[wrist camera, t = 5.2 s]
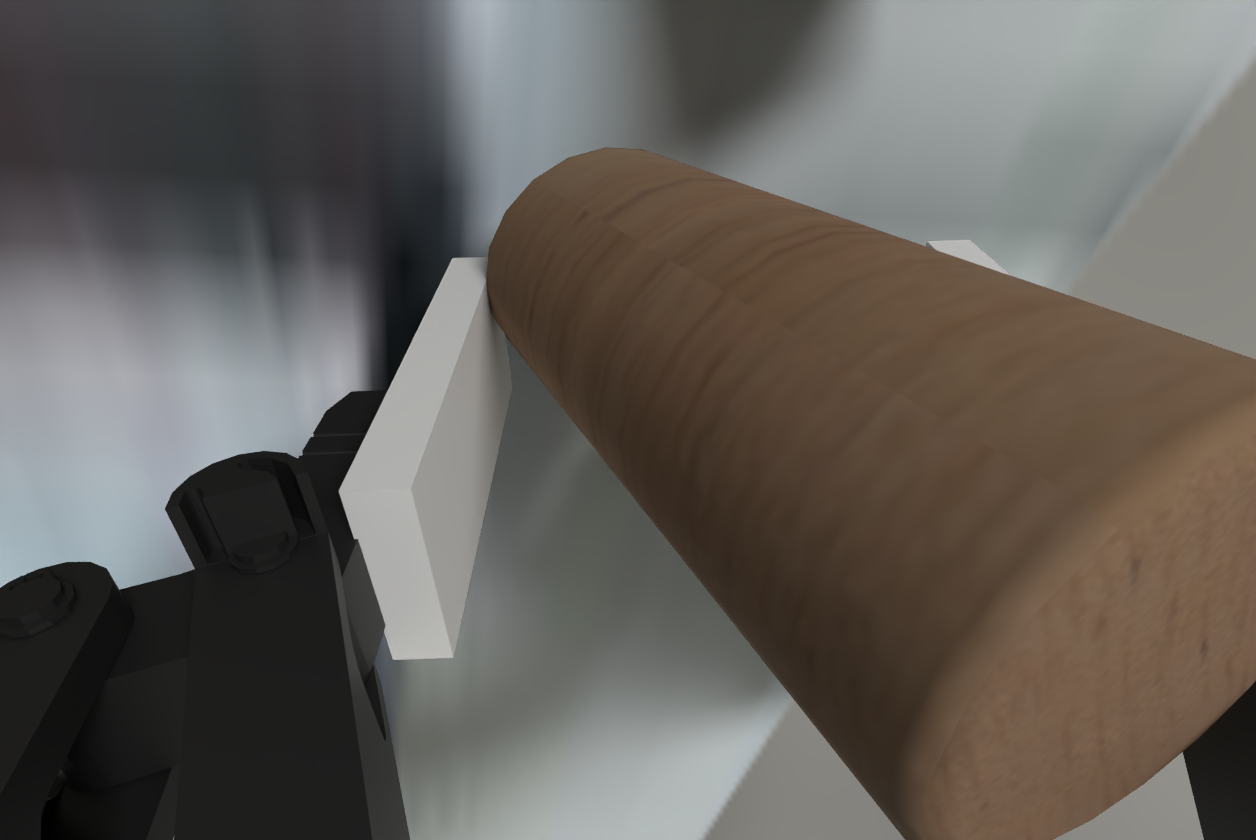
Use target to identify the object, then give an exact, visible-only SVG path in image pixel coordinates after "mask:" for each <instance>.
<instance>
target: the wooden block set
mask: <svg viewBox="0 0 1256 840" xmlns="http://www.w3.org/2000/svg"><path fill="white" fill-rule="evenodd" d="M486 287H487V292H488V297H489V302H490V306H491V310H492V314H493V318H494V319H495V321H496V322H497V324H498V325H499V326H500V328H501V329H502V331H503V332H504V334H505V335H506V336H507V338H508V339H509V341H510V342H511V343H512V345H513V346H514V347H515V348H516V350H517V351H518V352H519V354H520V355H521V356H522V357H523V359H524V360H525V361H526V362H527V364H528V365H529V366H530V367H531V369H532V370H533V371H534V372H535V374H536V375H537V376H538V377H539V379H540V380H541V381H542V382H543V384H544V385H545V386H546V388H547V389H548V390H549V391H550V393H551V394H552V395H553V396H554V398H555V399H556V400H557V401H558V403H559V404H560V405H561V406H562V408H563V409H564V410H565V411H566V413H567V414H568V415H569V417H570V418H571V419H572V420H573V422H574V423H575V424H576V425H577V427H578V428H579V429H580V430H581V432H582V433H583V434H584V435H585V437H586V438H587V439H588V440H589V442H590V443H591V444H592V446H593V447H594V448H595V449H596V451H597V452H598V453H599V454H600V456H601V457H602V458H603V459H604V461H605V462H606V463H607V464H608V466H609V467H610V468H611V469H612V471H613V472H614V473H615V475H616V476H617V477H618V478H619V480H620V481H621V482H622V483H623V485H624V486H625V487H626V488H627V490H628V491H629V492H630V493H631V495H632V496H633V497H634V498H635V500H636V501H637V502H638V503H639V505H640V506H641V507H642V509H643V510H644V511H645V512H646V514H647V515H648V516H649V517H650V519H651V520H652V521H653V522H654V524H655V525H656V526H657V527H658V529H659V530H660V531H661V532H662V534H663V535H664V536H665V538H666V539H667V540H668V541H669V543H670V544H671V545H672V546H673V548H674V549H675V550H676V551H677V553H678V554H679V555H680V556H681V558H682V559H683V560H684V561H685V563H686V564H687V565H688V567H689V568H690V569H691V570H692V572H693V573H694V574H695V575H696V577H697V578H698V579H699V580H700V582H701V583H702V584H703V585H704V587H705V588H706V589H707V590H708V592H709V593H710V594H711V595H712V597H713V598H714V599H715V601H716V602H717V603H718V604H719V606H720V607H721V608H722V609H723V611H724V612H725V613H726V614H727V616H728V617H729V618H730V619H731V621H732V622H733V623H734V624H735V626H736V627H737V628H738V630H739V631H740V632H741V633H742V635H743V636H744V637H745V638H746V640H747V641H748V642H749V643H750V645H751V646H752V647H753V648H754V650H755V651H756V652H757V653H758V655H759V656H760V657H761V659H762V660H763V661H764V662H765V664H766V665H767V666H768V667H769V669H770V670H771V671H772V672H773V674H774V675H775V676H776V677H777V679H778V680H779V681H780V682H781V684H782V685H783V686H784V688H785V689H786V690H787V691H788V693H789V694H790V695H791V696H792V698H793V699H794V700H795V701H796V703H797V704H798V705H799V706H800V708H801V709H802V710H803V711H804V713H805V714H806V715H807V716H808V718H809V719H810V720H811V722H812V723H813V724H814V725H815V726H816V728H817V729H818V730H819V732H820V733H821V734H822V735H823V737H824V738H825V739H826V740H827V742H828V743H829V744H830V745H831V747H832V748H833V749H834V751H836V753H837V754H838V756H839V757H840V758H841V759H842V761H843V762H844V763H845V764H846V766H847V767H848V768H849V769H850V771H851V772H852V773H853V774H854V776H855V777H856V778H857V780H858V781H859V782H860V783H861V785H862V786H863V787H864V788H865V790H866V791H867V792H868V793H869V794H870V796H871V797H872V798H873V800H874V801H875V802H876V803H877V805H878V806H879V807H880V808H881V810H882V811H883V812H884V813H885V815H886V816H887V817H888V819H889V820H890V821H891V822H892V824H893V825H894V826H895V827H896V829H897V830H898V831H899V832H900V834H901V835H902V836H903V837H904V839H905V840H1053V839H1055V838H1057V837H1059V836H1061V835H1063V834H1065V833H1067V832H1068V831H1071V830H1072V829H1074V828H1076V827H1078V826H1080V825H1082V824H1084V823H1086V822H1088V821H1090V820H1092V819H1093V818H1095V817H1096V816H1098V815H1099V814H1101V813H1102V812H1104V811H1105V810H1106V809H1108V808H1109V807H1111V806H1112V805H1114V804H1115V803H1116V802H1118V801H1120V800H1121V799H1123V798H1124V797H1125V796H1127V795H1128V794H1130V793H1131V792H1133V791H1134V790H1136V789H1137V788H1139V787H1140V786H1141V785H1143V784H1144V783H1145V782H1147V781H1148V780H1149V779H1150V778H1152V777H1153V776H1154V775H1155V774H1156V773H1157V772H1159V771H1160V770H1161V769H1162V768H1164V767H1165V766H1166V765H1167V764H1168V763H1169V762H1171V761H1172V760H1173V759H1174V758H1175V757H1177V756H1178V755H1179V754H1180V753H1181V752H1183V751H1184V750H1185V749H1186V748H1187V747H1189V746H1190V745H1191V744H1192V743H1193V742H1195V741H1196V740H1197V739H1198V738H1199V737H1200V736H1201V735H1202V734H1203V733H1204V732H1205V731H1206V730H1207V729H1208V728H1209V727H1210V726H1211V725H1212V724H1213V723H1214V722H1215V721H1217V720H1218V719H1219V718H1220V717H1221V716H1222V715H1223V714H1224V713H1225V712H1226V711H1227V710H1228V709H1229V708H1230V707H1231V706H1232V705H1233V704H1234V703H1235V702H1236V701H1237V700H1238V699H1239V698H1240V697H1241V696H1242V695H1243V694H1244V693H1245V692H1246V691H1247V690H1248V689H1249V688H1250V687H1251V686H1252V684H1253V683H1254V682H1255V681H1256V360H1255V359H1253V358H1250V357H1247V356H1243V355H1241V354H1238V353H1235V352H1232V351H1229V350H1226V349H1223V348H1220V347H1217V346H1214V345H1212V344H1209V343H1206V342H1203V341H1200V340H1197V339H1194V338H1191V337H1188V336H1185V335H1182V334H1179V333H1177V332H1173V331H1171V330H1168V329H1165V328H1162V327H1159V326H1156V325H1153V324H1150V323H1147V322H1144V321H1142V320H1139V319H1136V318H1133V317H1130V316H1127V315H1124V314H1121V313H1118V312H1115V311H1112V310H1109V309H1107V308H1104V307H1100V306H1098V305H1095V304H1092V303H1089V302H1086V301H1083V300H1080V299H1077V298H1074V297H1071V296H1069V295H1066V294H1063V293H1060V292H1057V291H1054V290H1051V289H1048V288H1045V287H1042V286H1039V285H1036V284H1034V283H1031V282H1028V281H1025V280H1022V279H1019V278H1016V277H1013V276H1010V275H1007V274H1004V273H1001V272H998V271H996V270H993V269H990V268H987V267H984V266H981V265H978V264H975V263H972V262H969V261H966V260H963V259H961V258H958V257H955V256H952V255H949V254H946V253H943V252H940V251H937V250H934V249H931V248H928V247H925V246H923V245H920V244H917V243H914V242H911V241H908V240H905V239H902V238H899V237H896V236H893V235H890V234H888V233H885V232H882V231H879V230H876V229H873V228H870V227H867V226H864V225H861V224H858V223H855V222H852V221H850V220H847V219H844V218H841V217H838V216H835V215H832V214H829V213H826V212H823V211H820V210H817V209H815V208H812V207H809V206H806V205H803V204H800V203H797V202H794V201H791V200H788V199H785V198H782V197H779V196H777V195H774V194H771V193H768V192H765V191H762V190H759V189H756V188H753V187H750V186H747V185H744V184H742V183H739V182H736V181H733V180H730V179H727V178H724V177H721V176H718V175H715V174H712V173H709V172H706V171H704V170H701V169H698V168H695V167H692V166H689V165H686V164H683V163H680V162H677V161H674V160H671V159H669V158H666V157H663V156H660V155H657V154H654V153H651V152H648V151H645V150H642V149H624V148H602V149H599V150H595V151H591V152H588V153H584V154H580V155H577V156H573V157H569V158H567V159H565V160H564V161H562V162H561V163H559V164H558V165H556V166H554V167H553V168H551V169H550V170H548V171H547V172H545V173H543V174H542V175H540V176H539V177H537V178H536V179H534V180H533V181H532V182H531V183H530V184H529V185H528V186H527V188H526V189H525V190H524V191H523V192H522V193H521V194H520V196H519V197H518V198H517V199H516V200H515V201H514V202H513V204H512V205H511V206H510V207H509V208H508V209H507V210H506V212H505V214H504V216H503V218H502V221H501V223H500V225H499V227H498V230H497V232H496V234H495V236H494V238H493V241H492V243H491V245H490V247H489V255H488V264H487V273H486Z"/></svg>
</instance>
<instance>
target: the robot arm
mask: <svg viewBox="0 0 1256 840" xmlns="http://www.w3.org/2000/svg"><path fill="white" fill-rule="evenodd" d="M926 247H928V248H931V249H934V250H937V251H940V252H943V253H946V254H949V255H952V256H955V257H958V258H961V259H963V260H966V261H969V262H972V263H975V264H978V265H981V266H984V267H987V268H990V269H993V270H996V271H998V272H1001V273H1004V274H1007V275H1010V274H1009V273H1007V272H1006V271H1005V270H1004V269H1003V268H1002V267H1000V266H999V265H998V264H997V263H996V262H995V261H993V260H992V259H991V258H990V257H989V256H988V255H987V254H985V253H984V252H983V251H982V250H981V249H980V248H978V247H977V246H976V245H975V244H974V243H973V242H971V241H970V240H950V241H927V245H926ZM487 264H488V257H473V258H452V260H451V262H450V264H449V266H448V268H447V271H446V273H445V275H444V277H443V279H442V281H441V283H440V285H439V287H438V289H437V291H436V293H435V295H434V297H433V299H432V301H431V303H430V305H429V307H428V309H427V311H426V313H425V316H424V318H423V320H422V322H421V324H420V326H419V328H418V330H417V332H416V334H415V336H414V338H413V340H412V342H411V344H410V346H409V348H408V350H407V352H406V354H405V356H404V358H403V361H402V363H401V365H400V367H399V369H398V371H397V373H396V375H395V377H394V379H393V381H392V383H391V385H390V387H389V389H388V390H384V391H356V392H350V393H349V394H348V395H347V396H345V397H344V398H343V399H341V400H340V401H339V402H337V403H336V404H335V405H334V406H332V407H331V408H330V409H328V410H327V411H326V413H325V414H324V416H323V418H322V419H321V421H320V423H319V424H318V426H317V428H316V429H315V431H314V433H313V434H314V437H311V438H310V439H309V441H308V443H307V444H306V446H305V448H304V449H303V456H299V458H298V459H297V458H295V457H293V456H291V455H289V454H287V453H280V452H269V451H261V452H254V453H247V454H240V455H237V456H234V457H231V458H228V459H225V460H222V461H219V462H216V463H213V464H211V465H209V466H208V467H206V468H204V469H202V470H200V471H199V472H197V473H195V474H193V475H192V476H190V477H189V478H188V479H187V480H185V481H184V482H183V483H182V484H181V485H180V486H179V487H178V488H177V489H176V490H175V491H174V492H173V493H172V495H171V497H170V499H169V501H168V503H167V505H166V508H165V510H166V512H167V514H168V516H169V518H170V520H171V522H172V524H173V526H174V528H175V530H176V532H177V534H178V536H179V538H180V540H181V542H182V544H183V546H184V548H185V550H186V552H187V554H188V556H189V558H190V560H191V562H192V564H193V566H194V568H195V570H192V571H188V572H185V573H182V574H179V575H175V576H171V577H168V578H164V579H160V580H156V581H152V582H148V583H144V584H140V585H136V586H132V587H129V588H125V589H121V590H119V588H118V587H117V585H116V583H115V582H114V580H113V578H112V577H111V575H110V573H109V572H108V570H107V569H106V568H104V567H102V566H99V565H97V564H94V563H92V562H66V563H62V564H57V565H53V566H49V567H45V568H41V569H38V570H35V571H33V572H30V573H28V574H26V575H24V576H21V577H19V578H17V579H15V580H12V581H10V582H9V583H7V584H6V585H4V586H3V587H1V588H0V840H173V837H174V840H410V837H409V832H408V826H407V821H406V816H405V810H404V805H403V799H402V794H401V789H400V783H399V778H398V772H397V767H396V762H395V756H394V751H393V745H392V740H391V735H390V729H389V724H388V718H387V713H386V708H385V702H384V697H383V691H382V686H381V682H380V679H379V676H378V673H377V670H376V667H375V665H374V660H375V657H376V654H377V651H378V648H379V645H380V642H381V639H382V636H383V632H384V633H385V636H386V639H387V642H388V646H389V649H390V652H391V655H392V658H393V660H406V659H435V658H454V653H455V649H456V644H457V639H458V635H459V630H460V626H461V621H462V617H463V612H464V607H465V603H466V598H467V594H468V589H469V585H470V580H471V575H472V571H473V566H474V562H475V557H476V552H477V548H478V543H479V539H480V534H481V530H482V525H483V520H484V516H485V511H486V507H487V502H488V497H489V493H490V488H491V484H492V479H493V475H494V470H495V465H496V461H497V456H498V452H499V447H500V442H501V438H502V433H503V429H504V424H505V420H506V415H507V410H508V406H509V401H510V397H511V392H512V387H513V386H512V378H511V371H510V364H509V357H508V349H507V342H506V335H505V334H504V332H503V331H502V329H501V328H500V326H499V325H498V324H497V322H496V321H495V319H494V318H493V314H492V310H491V306H490V302H489V297H488V292H487V287H486V273H487ZM1010 276H1011V275H1010ZM1183 755H1184V759H1185V763H1186V767H1187V771H1188V775H1189V779H1190V784H1191V787H1192V792H1193V796H1194V800H1195V804H1196V808H1197V812H1198V817H1199V820H1200V825H1201V829H1202V833H1203V837H1204V840H1256V681H1255V682H1254V683H1253V684H1252V686H1251V687H1250V688H1249V689H1248V690H1247V691H1246V692H1245V693H1244V694H1243V695H1242V696H1241V697H1240V698H1239V699H1238V700H1237V701H1236V702H1235V703H1234V704H1233V705H1232V706H1231V707H1230V708H1229V709H1228V710H1227V711H1226V712H1225V713H1224V714H1223V715H1222V716H1221V717H1220V718H1219V719H1218V720H1217V721H1215V722H1214V723H1213V724H1212V725H1211V726H1210V727H1209V728H1208V729H1207V730H1206V731H1205V732H1204V733H1203V734H1202V735H1201V736H1200V737H1199V738H1198V739H1197V740H1196V741H1195V742H1193V743H1192V744H1191V745H1190V746H1189V747H1187V748H1186V749H1185V750H1184V751H1183ZM174 834H175V835H174Z"/></svg>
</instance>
